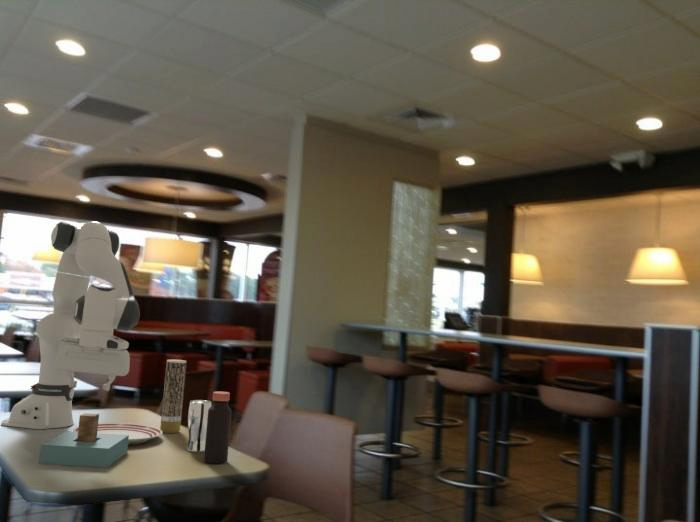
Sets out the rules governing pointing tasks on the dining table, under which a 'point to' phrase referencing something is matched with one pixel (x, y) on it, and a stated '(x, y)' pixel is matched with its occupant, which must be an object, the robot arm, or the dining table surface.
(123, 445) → the socket block
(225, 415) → the bottle
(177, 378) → the paper tube
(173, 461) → the dining table surface
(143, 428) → the dinner plate
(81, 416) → the walnut peg
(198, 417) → the silver drink can
